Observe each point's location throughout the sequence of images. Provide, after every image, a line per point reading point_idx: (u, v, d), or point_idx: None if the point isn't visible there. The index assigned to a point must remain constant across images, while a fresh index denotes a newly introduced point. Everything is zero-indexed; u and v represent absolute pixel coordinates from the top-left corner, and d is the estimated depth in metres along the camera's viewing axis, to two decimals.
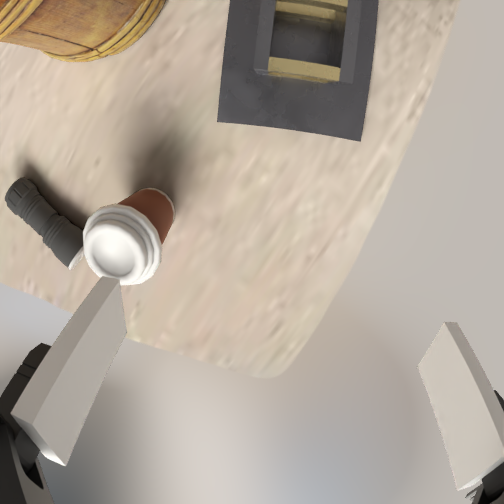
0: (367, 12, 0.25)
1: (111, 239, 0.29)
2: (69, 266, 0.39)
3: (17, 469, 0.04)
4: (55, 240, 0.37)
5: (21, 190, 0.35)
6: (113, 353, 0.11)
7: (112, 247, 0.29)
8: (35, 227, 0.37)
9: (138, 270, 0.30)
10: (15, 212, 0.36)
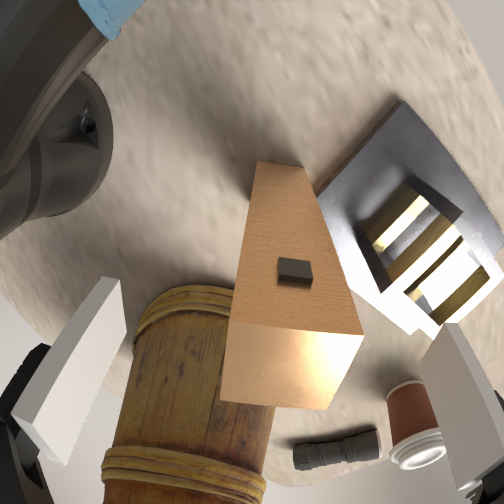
0: (429, 147, 0.23)
1: (418, 455, 0.30)
2: (379, 457, 0.43)
3: (17, 469, 0.04)
4: (358, 457, 0.43)
5: (304, 459, 0.45)
6: (113, 353, 0.11)
7: (421, 456, 0.30)
8: None
9: (444, 450, 0.29)
10: None
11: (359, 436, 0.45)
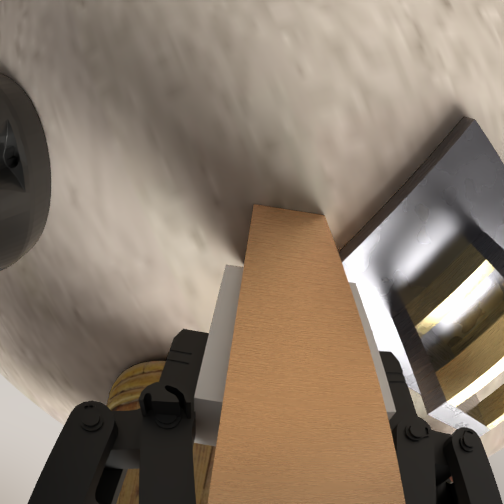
0: (499, 187, 0.15)
1: None
2: None
3: (193, 467, 0.06)
4: None
5: None
6: None
7: None
8: None
9: None
10: None
11: None
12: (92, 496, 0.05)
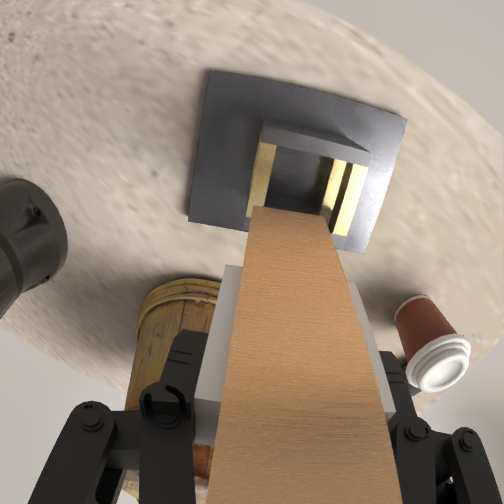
0: (255, 88, 0.27)
1: (434, 373, 0.31)
2: None
3: (193, 467, 0.06)
4: None
5: None
6: None
7: (439, 373, 0.31)
8: None
9: (463, 359, 0.29)
10: None
11: None
12: (92, 496, 0.05)
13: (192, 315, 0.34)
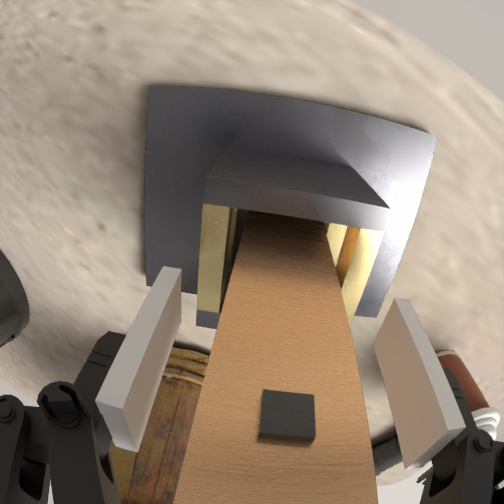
0: (213, 105, 0.19)
1: None
2: None
3: (97, 464, 0.05)
4: None
5: None
6: (172, 340, 0.12)
7: None
8: (400, 461, 0.35)
9: (491, 435, 0.20)
10: None
11: None
12: (16, 484, 0.04)
13: (162, 396, 0.26)
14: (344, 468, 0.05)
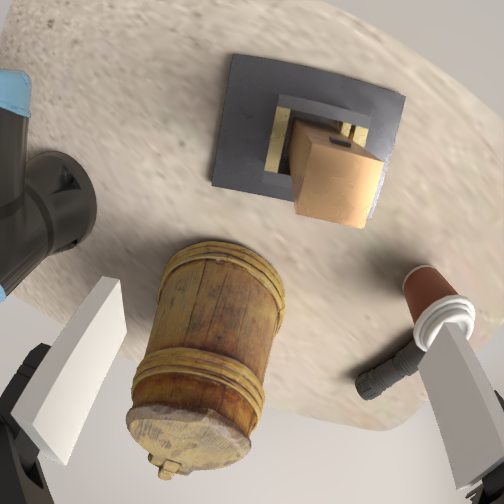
0: (271, 69, 0.31)
1: None
2: None
3: (17, 469, 0.04)
4: (413, 366, 0.45)
5: (365, 386, 0.49)
6: (113, 353, 0.11)
7: None
8: (397, 379, 0.47)
9: (468, 319, 0.31)
10: (380, 393, 0.49)
11: (407, 345, 0.47)
12: None
13: (213, 271, 0.38)
14: (364, 152, 0.17)
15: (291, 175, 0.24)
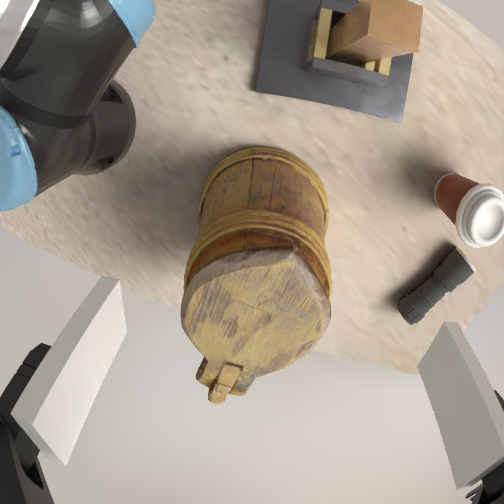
0: None
1: (481, 219, 0.32)
2: (473, 270, 0.43)
3: (17, 469, 0.04)
4: (453, 279, 0.45)
5: (409, 306, 0.49)
6: (113, 353, 0.11)
7: (485, 220, 0.32)
8: (439, 297, 0.47)
9: (503, 205, 0.31)
10: (423, 315, 0.49)
11: (444, 260, 0.47)
12: None
13: (262, 165, 0.37)
14: None
15: (344, 46, 0.24)
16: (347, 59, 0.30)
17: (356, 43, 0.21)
